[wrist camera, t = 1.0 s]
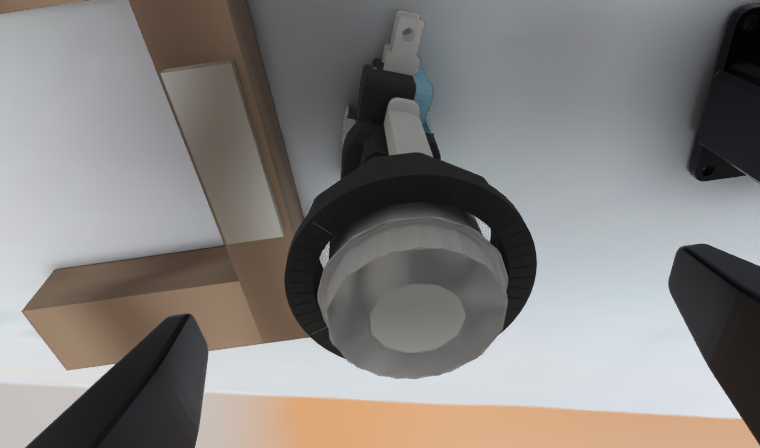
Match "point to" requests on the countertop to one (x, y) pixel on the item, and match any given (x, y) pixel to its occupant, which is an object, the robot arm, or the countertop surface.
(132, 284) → the notched board
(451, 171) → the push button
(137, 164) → the countertop surface
